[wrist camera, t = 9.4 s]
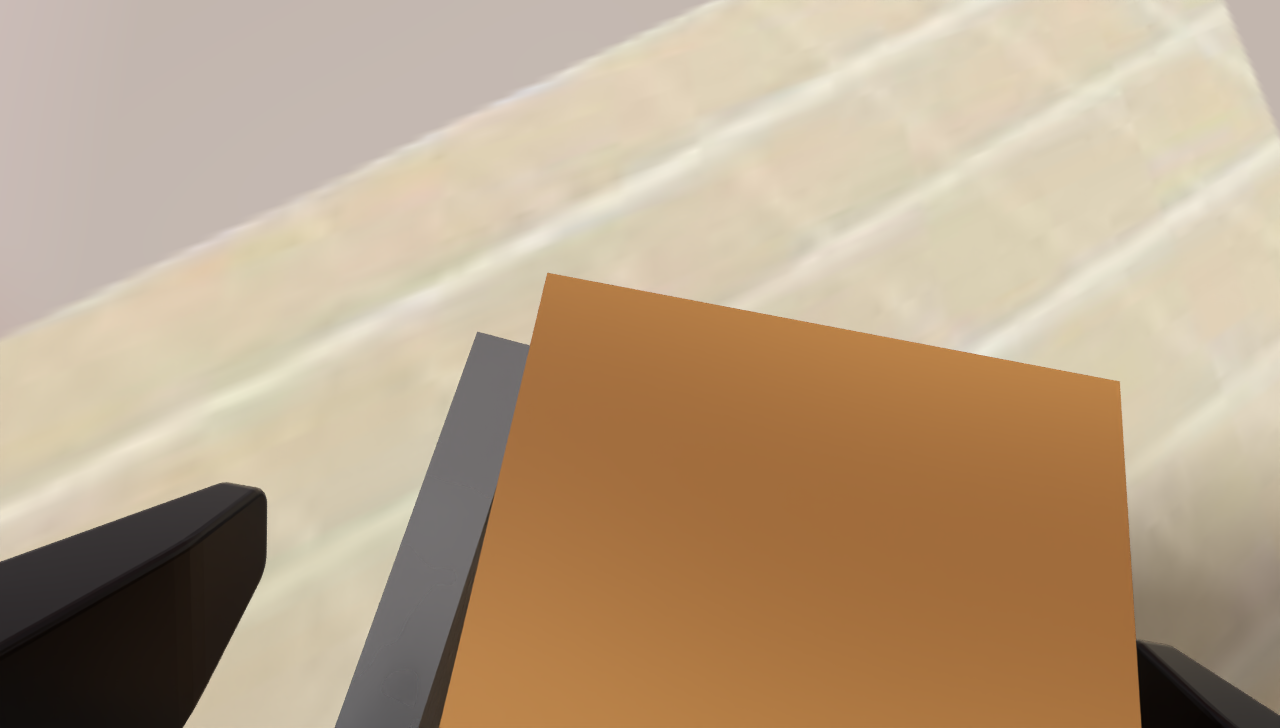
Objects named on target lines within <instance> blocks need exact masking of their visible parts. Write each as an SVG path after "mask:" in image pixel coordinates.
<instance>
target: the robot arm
mask: <svg viewBox="0 0 1280 728" xmlns="http://www.w3.org/2000/svg"><path fill="white" fill-rule="evenodd" d="M266 555H267V499H266V495H265V493H264V492H263V491H262V490H261V489H260V488H256V487H251V486H245V485H239V484H234V483H228V482H225V483H219V484H216V485H213V486H210V487H208V488H205V489H202V490H199V491H197V492H194V493H191V494H188V495H185V496H183V497H180V498H177V499H174V500H171V501H169V502H166V503H163V504H160V505H158V506H155V507H152V508H149V509H146V510H144V511H141V512H138V513H135V514H132V515H130V516H127V517H124V518H121V519H118V520H116V521H113V522H110V523H107V524H105V525H102V526H99V527H96V528H93V529H91V530H88V531H85V532H82V533H79V534H77V535H74V536H71V537H68V538H65V539H63V540H60V541H57V542H54V543H52V544H49V545H46V546H43V547H40V548H38V549H35V550H32V551H29V552H26V553H24V554H21V555H18V556H15V557H13V558H10V559H7V560H4V561H1V562H0V728H183V726H184V725H185V723H186V722H187V720H188V718H189V717H190V715H191V714H192V712H193V710H194V709H195V707H196V705H197V703H198V701H199V699H200V697H201V696H202V694H203V692H204V690H205V688H206V686H207V684H208V682H209V680H210V678H211V676H212V674H213V673H214V671H215V669H216V667H217V665H218V663H219V661H220V659H221V657H222V655H223V653H224V651H225V649H226V647H227V645H228V643H229V641H230V639H231V637H232V635H233V633H234V631H235V629H236V627H237V625H238V623H239V621H240V619H241V617H242V615H243V614H244V612H245V610H246V608H247V606H248V604H249V602H250V600H251V598H252V596H253V594H254V592H255V590H256V588H257V586H258V584H259V582H260V580H261V577H262V575H263V572H264V568H265V563H266ZM1136 650H1137V666H1138V682H1139V698H1140V714H1141V728H1280V715H1278V714H1276V713H1275V712H1273V711H1272V710H1270V709H1269V708H1267V707H1266V706H1264V705H1262V704H1261V703H1259V702H1258V701H1256V700H1255V699H1253V698H1252V697H1250V696H1248V695H1247V694H1245V693H1244V692H1242V691H1241V690H1239V689H1238V688H1236V687H1234V686H1233V685H1231V684H1230V683H1228V682H1227V681H1225V680H1224V679H1222V678H1220V677H1219V676H1217V675H1216V674H1214V673H1213V672H1211V671H1210V670H1208V669H1206V668H1205V667H1203V666H1202V665H1200V664H1199V663H1197V662H1196V661H1194V660H1192V659H1191V658H1189V657H1188V656H1186V655H1185V654H1183V653H1182V652H1180V651H1179V650H1177V649H1175V648H1173V647H1172V646H1169V645H1166V644H1161V643H1155V642H1149V641H1143V640H1137V639H1136Z"/></svg>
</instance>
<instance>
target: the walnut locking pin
mask: <svg viewBox="0 0 1280 728" xmlns="http://www.w3.org/2000/svg"><path fill="white" fill-rule="evenodd" d="M439 728H1141V714H1140V698H1139V682H1138V666H1137V650H1136V634H1135V618H1134V602H1133V586H1132V570H1131V554H1130V539H1129V523H1128V507H1127V491H1126V475H1125V459H1124V443H1123V427H1122V411H1121V395H1120V382H1119V381H1114V380H1109V379H1103V378H1098V377H1093V376H1088V375H1082V374H1077V373H1072V372H1067V371H1061V370H1056V369H1051V368H1046V367H1040V366H1035V365H1030V364H1024V363H1019V362H1014V361H1009V360H1003V359H998V358H993V357H988V356H982V355H977V354H972V353H967V352H961V351H956V350H951V349H946V348H940V347H935V346H930V345H924V344H919V343H914V342H909V341H903V340H898V339H893V338H888V337H882V336H877V335H872V334H867V333H861V332H856V331H851V330H846V329H840V328H835V327H830V326H824V325H819V324H814V323H809V322H803V321H798V320H793V319H788V318H782V317H777V316H772V315H767V314H761V313H756V312H751V311H746V310H740V309H735V308H730V307H725V306H719V305H714V304H709V303H703V302H698V301H693V300H688V299H682V298H677V297H672V296H667V295H661V294H656V293H651V292H646V291H640V290H635V289H630V288H625V287H619V286H614V285H609V284H603V283H598V282H593V281H588V280H582V279H577V278H572V277H567V276H561V275H556V274H551V273H547V277H546V281H545V285H544V289H543V293H542V298H541V302H540V306H539V310H538V314H537V319H536V323H535V327H534V331H533V335H532V340H531V344H530V348H529V352H528V356H527V361H526V365H525V369H524V373H523V377H522V382H521V386H520V390H519V394H518V398H517V403H516V407H515V411H514V415H513V419H512V424H511V428H510V432H509V436H508V440H507V445H506V449H505V453H504V457H503V461H502V466H501V470H500V474H499V478H498V482H497V487H496V491H495V495H494V499H493V504H492V508H491V512H490V516H489V520H488V525H487V529H486V533H485V537H484V541H483V546H482V550H481V554H480V558H479V562H478V567H477V571H476V575H475V579H474V583H473V588H472V592H471V596H470V600H469V604H468V609H467V613H466V617H465V621H464V625H463V630H462V634H461V638H460V642H459V646H458V651H457V655H456V659H455V663H454V667H453V672H452V676H451V680H450V684H449V688H448V693H447V697H446V701H445V705H444V709H443V714H442V718H441V722H440V726H439Z"/></svg>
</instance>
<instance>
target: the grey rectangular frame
mask: <svg viewBox="0 0 1280 728" xmlns="http://www.w3.org/2000/svg"><path fill="white" fill-rule="evenodd" d="M529 348H530V346H529V345H526V344H522V343H518V342H514V341H511V340H507V339H503V338H499V337H495V336H492V335H488V334H484V333H480V332H477V334H476V337H475V340H474V343H473V345H472V348H471V351H470V354H469V356H468V359H467V362H466V365H465V368H464V370H463V373H462V376H461V379H460V381H459V384H458V387H457V390H456V393H455V395H454V398H453V401H452V404H451V406H450V409H449V412H448V415H447V418H446V420H445V423H444V426H443V429H442V431H441V434H440V437H439V440H438V442H437V445H436V448H435V451H434V454H433V456H432V459H431V462H430V465H429V467H428V470H427V473H426V476H425V479H424V481H423V484H422V487H421V490H420V492H419V495H418V498H417V501H416V503H415V506H414V509H413V512H412V515H411V517H410V520H409V523H408V526H407V528H406V531H405V534H404V537H403V540H402V542H401V545H400V548H399V551H398V553H397V556H396V559H395V562H394V565H393V567H392V570H391V573H390V576H389V578H388V581H387V584H386V587H385V589H384V592H383V595H382V598H381V601H380V603H379V606H378V609H377V612H376V614H375V617H374V620H373V623H372V626H371V628H370V631H369V634H368V637H367V639H366V642H365V645H364V648H363V651H362V653H361V656H360V659H359V662H358V664H357V667H356V670H355V673H354V675H353V678H352V681H351V684H350V687H349V689H348V692H347V695H346V698H345V700H344V703H343V706H342V709H341V712H340V714H339V717H338V720H337V723H336V725H335V728H438V726H439V723H440V720H441V716H442V713H443V709H444V705H445V701H446V697H447V693H448V688H449V684H450V680H451V676H452V672H453V667H454V663H455V659H456V655H457V651H458V646H459V642H460V638H461V634H462V630H463V625H464V621H465V617H466V613H467V609H468V604H469V600H470V596H471V592H472V588H473V583H474V579H475V575H476V571H477V567H478V562H479V558H480V554H481V550H482V546H483V541H484V537H485V533H486V529H487V525H488V520H489V516H490V512H491V508H492V504H493V499H494V495H495V491H496V487H497V482H498V478H499V474H500V470H501V466H502V461H503V457H504V453H505V449H506V445H507V440H508V436H509V432H510V428H511V424H512V419H513V415H514V411H515V407H516V403H517V398H518V394H519V390H520V386H521V382H522V377H523V373H524V369H525V365H526V361H527V356H528V352H529Z"/></svg>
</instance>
